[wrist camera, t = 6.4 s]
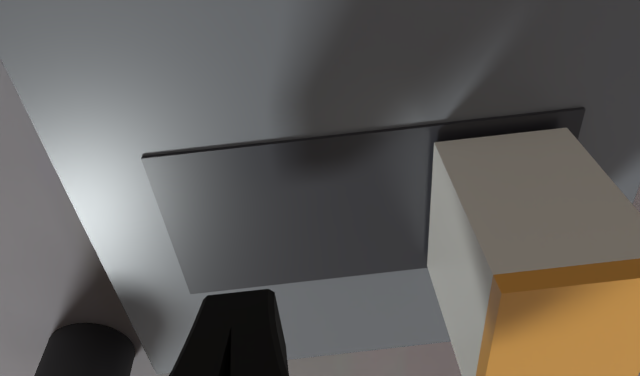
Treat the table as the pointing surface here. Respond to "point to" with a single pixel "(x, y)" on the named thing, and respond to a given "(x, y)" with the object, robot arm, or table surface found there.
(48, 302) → the table surface
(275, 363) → the robot arm
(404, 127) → the breaker panel
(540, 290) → the block
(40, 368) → the cylinder
